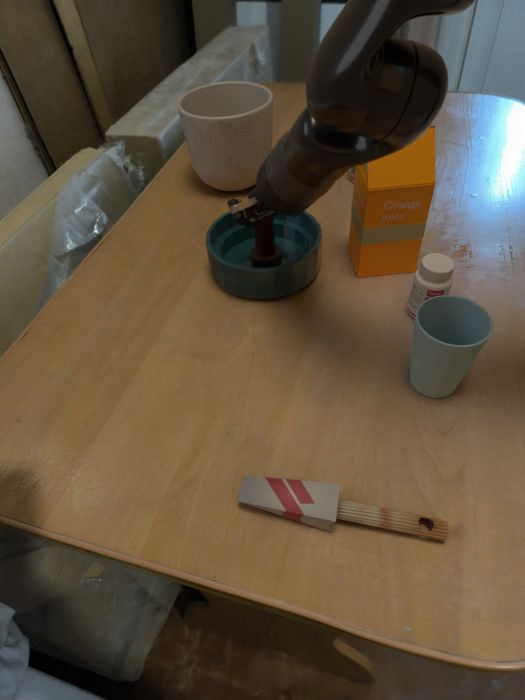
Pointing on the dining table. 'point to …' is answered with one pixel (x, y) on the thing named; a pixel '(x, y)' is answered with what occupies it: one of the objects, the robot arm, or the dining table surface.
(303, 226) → the bowl
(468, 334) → the cup
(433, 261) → the pill bottle
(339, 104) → the robot arm
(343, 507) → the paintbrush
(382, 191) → the orange juice
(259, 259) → the grey brown flanged cylinder
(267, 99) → the planter
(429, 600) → the dining table surface
